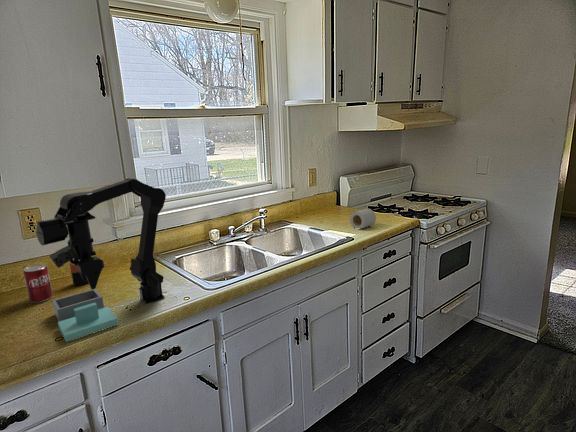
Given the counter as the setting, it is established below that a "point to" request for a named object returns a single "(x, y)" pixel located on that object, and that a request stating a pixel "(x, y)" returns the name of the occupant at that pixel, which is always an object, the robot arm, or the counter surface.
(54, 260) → the robot arm
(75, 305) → the tub
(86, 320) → the lid
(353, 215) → the toilet paper
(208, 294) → the counter surface
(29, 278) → the soda can
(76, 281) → the battery
